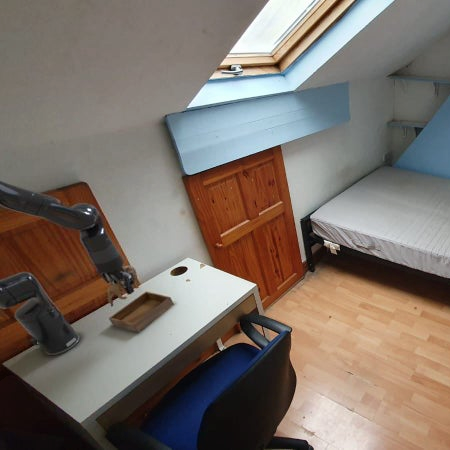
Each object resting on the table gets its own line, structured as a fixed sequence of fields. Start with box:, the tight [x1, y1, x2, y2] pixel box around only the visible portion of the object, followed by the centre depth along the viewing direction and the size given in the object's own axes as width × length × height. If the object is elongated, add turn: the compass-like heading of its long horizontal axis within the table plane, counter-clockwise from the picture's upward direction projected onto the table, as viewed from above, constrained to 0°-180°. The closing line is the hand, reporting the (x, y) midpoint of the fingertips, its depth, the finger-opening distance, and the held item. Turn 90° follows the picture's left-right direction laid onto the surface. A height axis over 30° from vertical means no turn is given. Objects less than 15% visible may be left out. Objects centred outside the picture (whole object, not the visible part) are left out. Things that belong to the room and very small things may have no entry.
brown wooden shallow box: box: [108, 290, 175, 334], centre depth 129 cm, size 13×16×4 cm
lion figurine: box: [106, 264, 140, 308], centre depth 116 cm, size 15×5×9 cm, turn 4°
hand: (126, 291), depth 118 cm, fingers closed on lion figurine, 4 cm apart
